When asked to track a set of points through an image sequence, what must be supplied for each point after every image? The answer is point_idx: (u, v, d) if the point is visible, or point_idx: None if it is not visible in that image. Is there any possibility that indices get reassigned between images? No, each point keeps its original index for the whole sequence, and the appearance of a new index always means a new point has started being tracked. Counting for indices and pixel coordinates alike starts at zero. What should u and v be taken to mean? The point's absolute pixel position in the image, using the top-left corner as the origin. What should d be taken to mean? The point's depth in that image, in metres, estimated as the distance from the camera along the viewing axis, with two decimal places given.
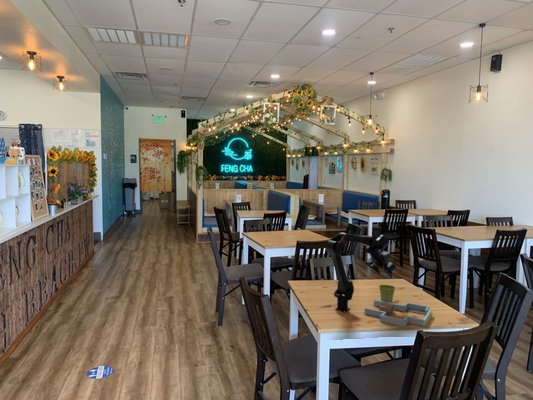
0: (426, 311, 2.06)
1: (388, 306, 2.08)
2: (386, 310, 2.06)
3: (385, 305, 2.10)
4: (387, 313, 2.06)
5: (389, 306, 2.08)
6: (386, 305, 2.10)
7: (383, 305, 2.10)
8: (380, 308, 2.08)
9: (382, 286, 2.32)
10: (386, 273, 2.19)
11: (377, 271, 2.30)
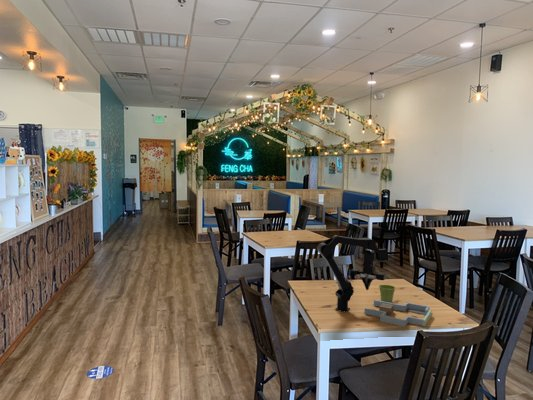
0: (426, 311, 2.06)
1: (388, 306, 2.08)
2: (386, 310, 2.06)
3: (385, 305, 2.10)
4: (387, 313, 2.06)
5: (389, 306, 2.08)
6: (386, 305, 2.10)
7: (383, 305, 2.10)
8: (380, 308, 2.08)
9: (382, 286, 2.32)
10: (368, 280, 2.11)
11: None
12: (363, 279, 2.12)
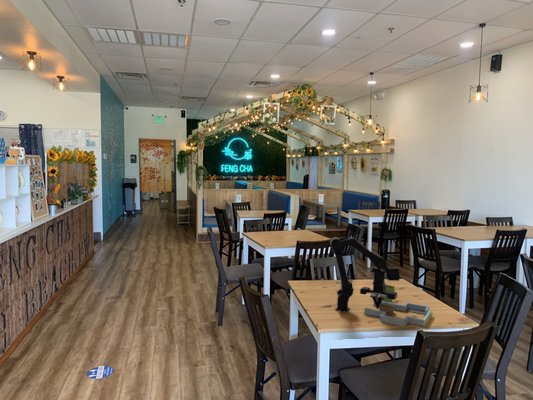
0: (426, 311, 2.06)
1: (389, 306, 2.08)
2: (387, 310, 2.06)
3: (385, 305, 2.09)
4: (388, 313, 2.06)
5: (390, 306, 2.08)
6: (386, 305, 2.10)
7: (384, 305, 2.10)
8: (380, 308, 2.08)
9: None
10: (379, 299, 2.09)
11: (377, 304, 2.11)
12: (374, 298, 2.10)
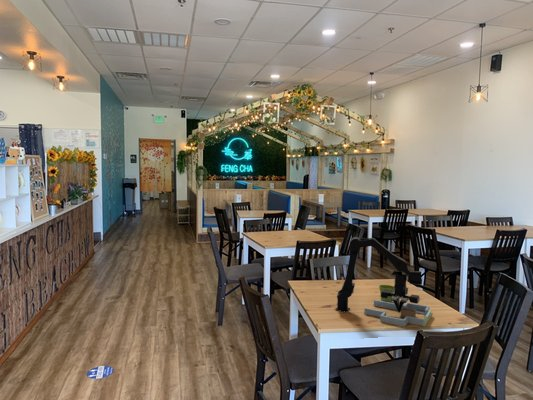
0: (426, 311, 2.06)
1: (410, 310, 2.01)
2: (408, 314, 2.00)
3: (407, 309, 2.03)
4: None
5: (411, 310, 2.02)
6: (408, 309, 2.03)
7: (405, 309, 2.04)
8: (402, 312, 2.01)
9: (382, 286, 2.32)
10: (401, 303, 2.03)
11: None
12: (395, 302, 2.04)
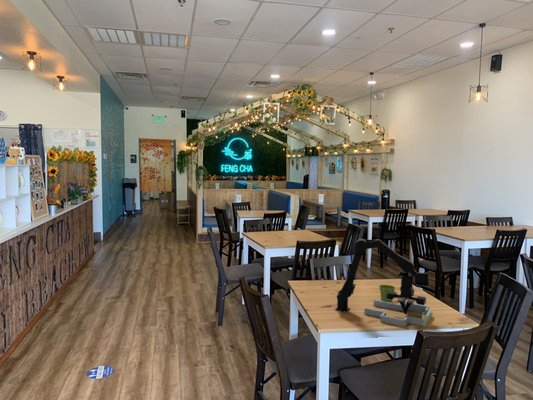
0: (426, 311, 2.06)
1: (417, 312, 1.99)
2: (415, 316, 1.98)
3: (413, 311, 2.01)
4: None
5: (418, 312, 2.00)
6: (414, 311, 2.01)
7: (412, 310, 2.02)
8: (408, 314, 2.00)
9: (382, 286, 2.32)
10: (407, 305, 2.01)
11: (405, 309, 2.04)
12: (401, 303, 2.02)
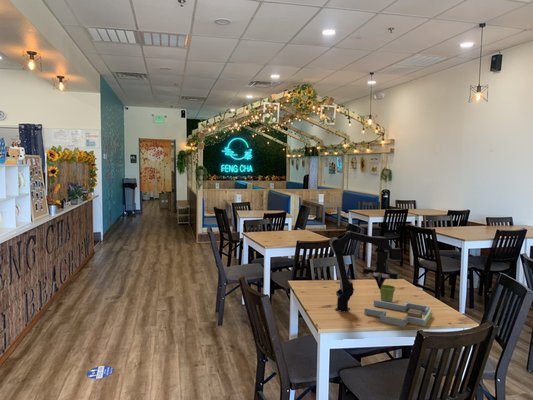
0: (426, 311, 2.06)
1: (417, 312, 1.99)
2: (415, 316, 1.98)
3: (413, 311, 2.01)
4: None
5: (418, 312, 2.00)
6: (414, 311, 2.01)
7: (412, 310, 2.02)
8: (408, 314, 1.99)
9: (382, 286, 2.32)
10: (381, 279, 2.10)
11: (379, 284, 2.13)
12: (376, 278, 2.11)
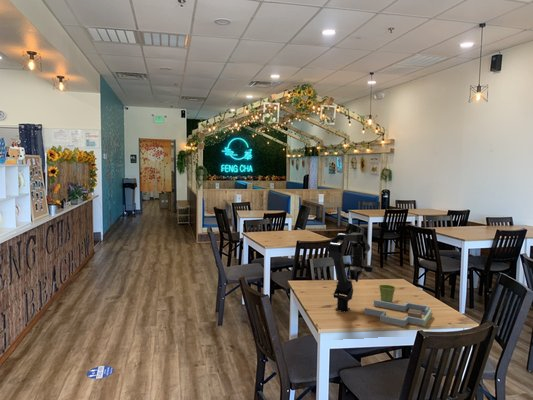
0: (426, 311, 2.06)
1: (417, 312, 1.99)
2: (415, 316, 1.98)
3: (413, 311, 2.01)
4: None
5: (418, 312, 2.00)
6: (414, 311, 2.01)
7: (412, 310, 2.02)
8: (409, 314, 1.99)
9: (382, 286, 2.32)
10: (357, 273, 2.21)
11: None
12: (353, 271, 2.23)
